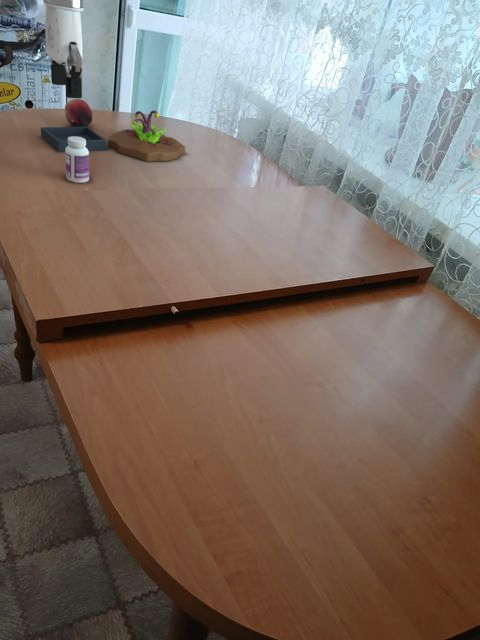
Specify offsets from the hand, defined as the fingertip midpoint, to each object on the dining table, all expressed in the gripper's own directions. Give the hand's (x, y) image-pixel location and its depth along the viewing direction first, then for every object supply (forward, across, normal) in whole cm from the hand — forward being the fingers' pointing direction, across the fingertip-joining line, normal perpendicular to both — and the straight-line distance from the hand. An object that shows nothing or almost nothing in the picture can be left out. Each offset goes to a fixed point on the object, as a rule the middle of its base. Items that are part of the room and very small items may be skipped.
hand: (66, 91), depth 117 cm
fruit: (+21, -39, +16) cm, 47 cm away
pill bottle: (+21, -2, +2) cm, 21 cm away
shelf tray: (+20, -27, +10) cm, 35 cm away
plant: (+21, -22, +30) cm, 42 cm away
